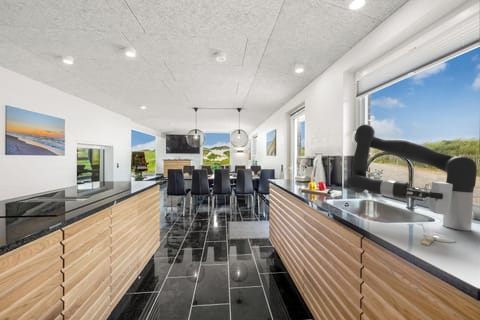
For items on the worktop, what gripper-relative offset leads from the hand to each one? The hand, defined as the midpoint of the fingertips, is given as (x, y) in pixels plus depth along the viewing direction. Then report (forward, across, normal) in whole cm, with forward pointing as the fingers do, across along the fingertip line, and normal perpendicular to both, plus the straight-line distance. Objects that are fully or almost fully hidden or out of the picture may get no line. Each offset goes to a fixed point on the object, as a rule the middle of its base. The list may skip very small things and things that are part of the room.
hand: (444, 195), depth 81 cm
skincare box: (-1, 0, +7) cm, 7 cm away
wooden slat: (-2, -10, +17) cm, 20 cm away
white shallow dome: (-1, 0, +17) cm, 17 cm away
